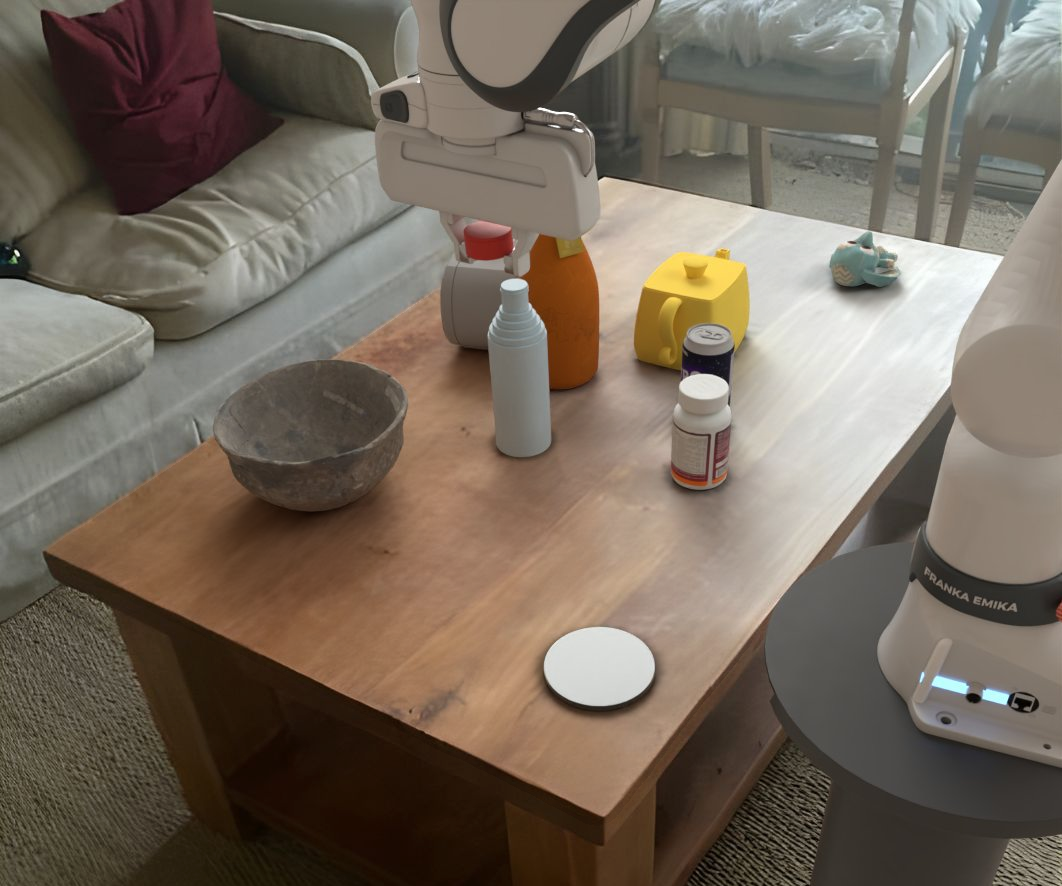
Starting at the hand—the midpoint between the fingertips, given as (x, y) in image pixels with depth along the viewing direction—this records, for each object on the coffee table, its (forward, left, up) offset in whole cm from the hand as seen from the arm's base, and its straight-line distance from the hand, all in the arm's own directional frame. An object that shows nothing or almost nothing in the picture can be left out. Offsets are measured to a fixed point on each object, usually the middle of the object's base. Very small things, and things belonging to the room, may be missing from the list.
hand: (492, 266), depth 94 cm
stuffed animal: (-9, -73, -30) cm, 80 cm away
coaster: (-17, +12, -30) cm, 36 cm away
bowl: (+24, +3, -30) cm, 38 cm away
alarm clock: (+27, -36, -30) cm, 54 cm away
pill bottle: (-11, -19, -30) cm, 38 cm away
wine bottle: (+14, -30, -30) cm, 45 cm away
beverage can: (-7, -28, -30) cm, 42 cm away
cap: (0, 0, +3) cm, 3 cm away
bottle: (+9, -15, -30) cm, 35 cm away
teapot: (+3, -45, -30) cm, 55 cm away
